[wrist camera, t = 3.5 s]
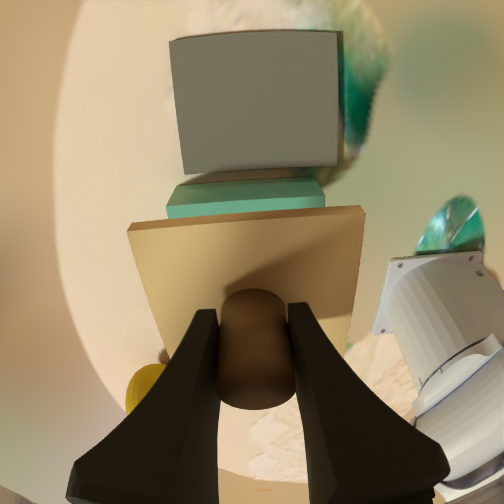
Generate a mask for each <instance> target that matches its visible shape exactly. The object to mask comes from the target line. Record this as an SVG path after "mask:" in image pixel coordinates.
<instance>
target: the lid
mask: <svg viewBox="0 0 504 504" xmlns="http://www.w3.org/2000/svg"><path fill="white" fill-rule="evenodd" d="M365 214H366V213H365V212H364V211H363V209H362V208H361V206H360V205H357V206H336V207H317V208H300V209H285V210H270V211H256V212H243V213H230V214H218V215H207V216H196V217H185V218H175V219H164V220H155V221H145V222H136V223H131V225H130V227H129V228H128V230H127V235H128V239H129V242H130V246H131V249H132V252H133V256H134V259H135V262H136V265H137V268H138V272H139V275H140V278H141V281H142V284H143V287H144V290H145V293H146V296H147V299H148V302H149V305H150V307H151V310H152V313H153V316H154V319H155V321H156V324H157V327H158V329H159V332H160V335H161V337H162V340H163V343H164V345H165V348H166V350H167V353H168V355H169V358H170V359H171V357H172V356H173V354H174V352H175V351H176V349H177V347H178V345H179V344H180V342H181V340H182V338H183V337H184V335H185V333H186V331H187V329H188V327H189V325H190V323H191V321H192V319H193V317H194V314H195V312H196V311H197V310H198V309H215V308H216V313H217V318H218V323H219V339H218V353H217V368H216V383H215V392H216V395H217V396H218V398H219V399H220V400H222V401H223V402H224V403H226V404H228V405H230V406H233V407H236V408H240V409H246V410H262V409H268V408H273V407H276V406H279V405H281V404H283V403H285V402H286V401H288V400H289V399H290V398H291V397H292V396H293V395H294V394H295V392H296V379H295V372H294V364H293V357H292V350H291V343H290V336H289V329H288V303H297V302H307V303H308V304H309V306H310V308H311V310H312V312H313V314H314V316H315V318H316V319H317V321H318V323H319V324H320V326H321V328H322V329H323V331H324V332H325V334H326V335H327V337H328V338H329V340H330V341H331V343H332V344H333V345H334V347H335V348H336V350H337V351H338V352H339V354H340V355H341V356H342V358H343V359H344V354H345V349H346V344H347V339H348V333H349V328H350V322H351V317H352V310H353V305H354V299H355V293H356V287H357V280H358V273H359V266H360V257H361V250H362V241H363V232H364V223H365Z"/></svg>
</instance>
